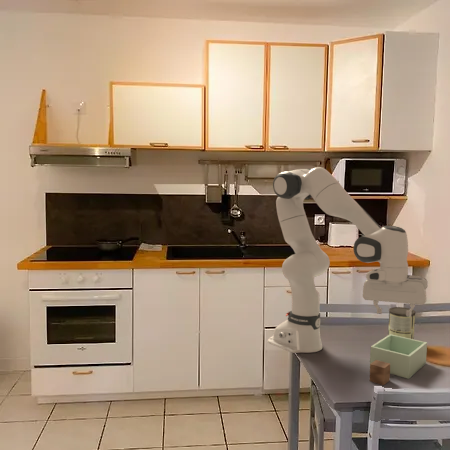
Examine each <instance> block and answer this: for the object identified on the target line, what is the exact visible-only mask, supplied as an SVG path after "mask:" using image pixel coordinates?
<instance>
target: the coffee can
mask: <svg viewBox="0 0 450 450" xmlns="http://www.w3.org/2000/svg"><path fill="white" fill-rule="evenodd" d="M410 309H411V308H409V307H404V306H394V307H390V308H389V309H388V311H389V312H388V334H387V336H388V335H389V334H391V335H396V336H400V337H405V338H409V339H413V340H415V324H416V310H414V309H413V310H412V311H411V317H407V316H406V311H407V310H410Z"/></svg>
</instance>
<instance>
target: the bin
mask: <svg viewBox="0 0 450 450" xmlns="http://www.w3.org/2000/svg"><path fill="white" fill-rule="evenodd" d="M427 348H428V342H427V341H422V340H418V339H414V340H413V339H409V338H405V337H400V336H396V335H391V334H389V335H388V334H387V335H386V336H385V337H384V338H382V339H380V340H378V341H377V342H376V343H374V344H372V345H371V346H370V353H369V365H370V364H371V363H372V362H374V361H375V360H379V361H382V362H386V363H390V375H394V376H397V377H401V378H404V379H407V380H408V379H409V380H410V378H412V376H414V375H415V374H416V373H417V372H418V371H419V370H421V368H423V367H424V366H425V365H426V364H427V354H428V349H427Z"/></svg>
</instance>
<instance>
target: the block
mask: <svg viewBox="0 0 450 450" xmlns="http://www.w3.org/2000/svg"><path fill="white" fill-rule="evenodd" d="M390 378H391V374H390V363H386V362H382V361H379V360H375V361H374V362H372V363H371V364H370V363H369V379H368V380H369V382H372V383H375V384H378V385H382V386H385V385H386V384H387V383H389V382H390Z"/></svg>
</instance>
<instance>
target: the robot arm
mask: <svg viewBox="0 0 450 450" xmlns="http://www.w3.org/2000/svg"><path fill="white" fill-rule="evenodd" d="M272 189H273V191H274V193H275V195H276V196H277V198H276V200H275V204H276V207H275V208H276V213H277V218H278V222H279V227H280V228H281V232H282V236H283V240H284V241H285V243H287V244H288V246H290V247H291V249H292V250H293V252H294V254H291V255H290V256H289V257H287V258H286V259H284V261H283V263H282V264H281V265H282V266H281V270H282V271H281V272H282V274H283V275H284V277H285V278H286V279H287V281H288V283H289V288H290V293H291V310H290V311H288V312H287V313H285V317H287V319H286V320H284V321H282V322H281V323H279V324H278V325H277V326H276V327H275V328H274V331H273V335H272V336H270V337H269V338H268V339H267V344H269V345H272V346H275V347H277V348H279V349H282V350H285V351H287V352H290V353H293V354H297V353H298V354H299V353H316V352H319V351H321V350H322V349H323V348H324V347H323V343H322V340H321V333H320V331H321V330H320V327H321V313H320V300H321V295H320V292H319V291H318V290H317V288H316V285H315V278H317V277H320V276H321V275H323V274H324V273H325V272H326V271H327V270H328V269H329V267H330V265H331V264H330V263H331V261H330V257H329V256H328V254H327V253H326V252H325V251H324V250H322V248H321V247H320V245H319V244H318V242H317V241H316V239H315V237H314V235H313V233H312V230H311V227H310V224H309V220H308V217H307V215H306V211H305V209H304V201H305V200H310V199H311V198H312V199H313V200H314V202H315V203H316V205H317V206H318V207H319V208H320V209H321V210H322V212H324V213H325V214H326V215H328V216H332V217H336V218H341V219H343V220H347V221H348V222H350V223H352V224H353V225H354V226H355V227H356V228H357V229H358V230H359V231H360V232H361V234H362V235H363V236H360V237H358V238H357V239H355V241H354V243H353V254H354V256H355V258H356V259H357V260H358V261H360V262H362V263H367V264H369V263H375V262H378V263H379V268H376V269H372V270H369V271H367V273H366V276H365V278H366V280H365V281H364V283H363V287H362V298H363V299H364V300H365V301H372V302H373V305H374V307H375V309H376V314H377V315H378V314H379V315H382V314H383V308H382V307H380V306H379V304H378V303H379V302H384V303H385V302H386V303H399V304H409V307H410V308H409V309H410V310H407V311H406V316H407V317H411V311H412V310H414V308H415V307H416V305H422V306H423V305H425V304H426V302H427V291H426V290H427V289H428V280H427V278H426V277H424V276H422V275H411V274H409V264H408V256H409V255H408V254H409V241H408V234H407V231H406V229H403V228H402V227H400V226H394V225H385V226H380V225H379V224H378V222H376V220H375V219H374V218H373V217H372V216H371V215H370V214H369V212H367V210H365V209H364V208H363V207H362V206H361V205H360V204H359V203H358V202H357V201H356V200H355V199H354V198H353V197H352V196H351V195H350V194H349V193H348V192H347V191H346V190H345V188H344V187H343V185H341V183H340V182H339V181H338V179H336V177H334V176H333V175H332V173H330V172H329V171H328V170H327V169H326V168H324V167H323V166H322V167H320V166H318V167H314V168H298V169H294V170H289V171H282V172H279V173H278V174H276V175H275V177H274V179H273V181H272Z"/></svg>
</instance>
